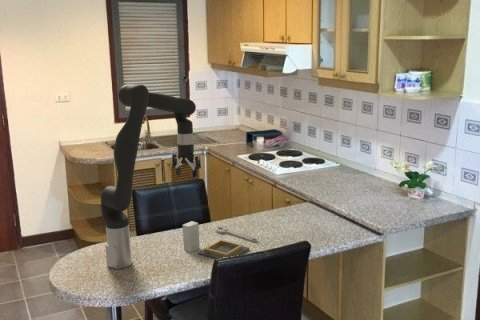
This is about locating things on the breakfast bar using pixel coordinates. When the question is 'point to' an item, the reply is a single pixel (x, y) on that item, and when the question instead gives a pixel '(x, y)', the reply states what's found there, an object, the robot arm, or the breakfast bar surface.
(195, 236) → the skincare box
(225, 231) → the adjustable wrench
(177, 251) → the breakfast bar surface
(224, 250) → the picture frame
